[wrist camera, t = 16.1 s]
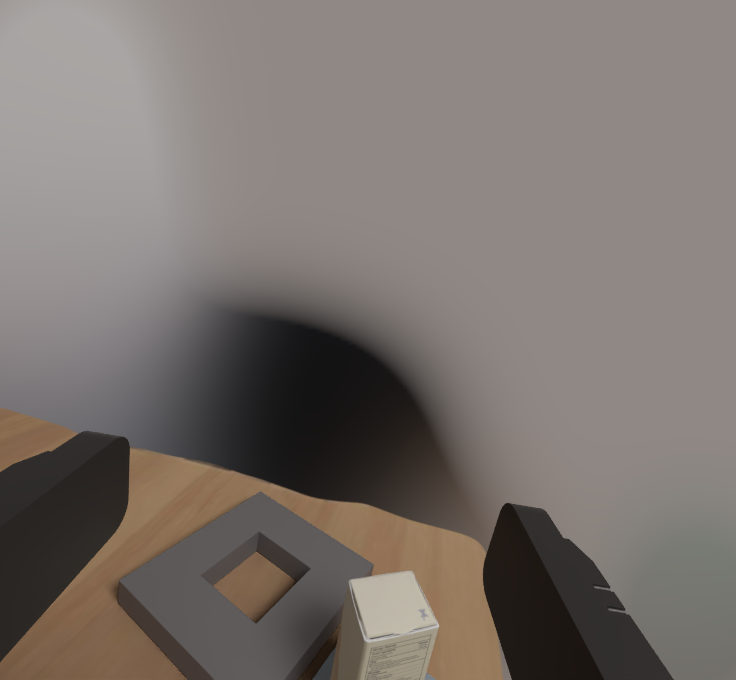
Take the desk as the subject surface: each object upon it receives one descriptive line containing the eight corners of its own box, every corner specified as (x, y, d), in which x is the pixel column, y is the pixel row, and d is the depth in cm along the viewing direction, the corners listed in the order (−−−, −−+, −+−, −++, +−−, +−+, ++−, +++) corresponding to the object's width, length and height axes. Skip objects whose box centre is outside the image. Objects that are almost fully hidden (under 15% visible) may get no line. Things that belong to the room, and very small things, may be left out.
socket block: (118, 603, 33) (118, 580, 32) (258, 509, 46) (260, 491, 46) (249, 746, 25) (252, 719, 25) (369, 584, 39) (373, 564, 38)
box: (387, 679, 30) (416, 567, 28) (408, 747, 26) (445, 625, 24) (322, 694, 29) (347, 576, 26) (335, 769, 25) (365, 640, 22)
